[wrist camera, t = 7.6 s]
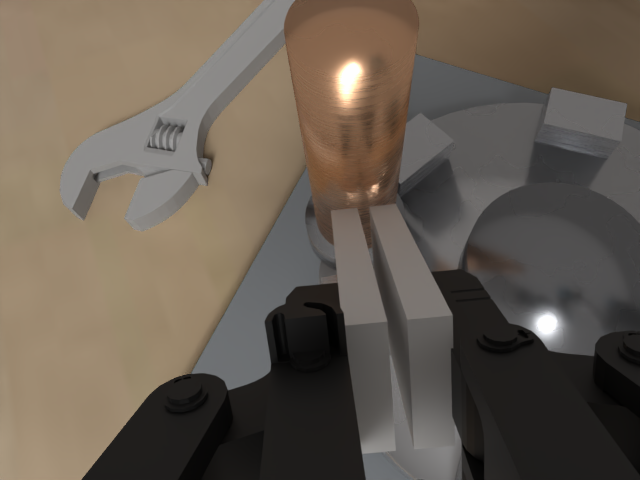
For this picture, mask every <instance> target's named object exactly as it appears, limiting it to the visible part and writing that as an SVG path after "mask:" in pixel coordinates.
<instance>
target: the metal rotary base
mask: <svg viewBox="0 0 640 480" xmlns="http://www.w3.org/2000/svg"><path fill="white" fill-rule="evenodd" d="M418 29H419V18H418V14H417V10H416V8H415V6H414V4H413V3H412V1H411V0H295V1H294V2H293V4H292V5H291V7H290V8H289V10H288V12H287V15H286V17H285V22H284V36H285V42H286V48H287V53H288V59H289V65H290V71H291V77H292V82H293V88H294V94H295V100H296V106H297V111H298V117H299V123H300V129H301V135H302V141H303V146H304V152H305V158H306V164H307V170H308V175H309V181H310V187H311V193H312V196H311V197H310V199H309V201H308V204H307V207H306V212H305V223H306V228H307V233H308V238H309V242H310V245H311V247H312V249H313V251H314V253H315V254H316V256H317V257H318V258H319V259H320V260H321V262H320V268H319V284H329V283H338V278H337V268H336V258H335V248H334V238H333V228H332V218H331V210H341V209H351V208H357V209H358V212H359V216H360V220H361V224H362V228H363V231H364V235H365V239H366V243H367V247H368V250H369V254H370V258H371V262H372V265H373V253H372V239H371V226H370V212H369V207H371V206H380V205H390V204H396V205H397V207H398V209H399V211H400V213H401V215H402V217H403V219H404V221H405V223H406V225H407V227H408V229H409V231H410V233H411V235H412V237H413V239H414V241H415V243H416V244H417V246H418V248H419V250H420V252H421V254H422V256H423V258H424V260H425V262H426V264H427V266H428V268H429V270H430V272H435V271H446V270H456V269H463V270H464V271H466V272H468V273H470V274H472V275H474V276H475V277H477V278H478V280H479V281H480V282H481V284H482V285H483V287H484V289H485V290H486V291H487V292H488V294H489V295H490V297H491V299H492V300H493V301H494V302H495V304H496V305H497V307H498V308H499V310H500V311H501V312H502V314H503V315H504V317H505V318H506V319H507V321H508V322H509V323H510V324H515V325H519V326H522V327H524V328H526V329H529V330H531V331H532V332H533V333H534V334H536V335H537V336H538V337H539V338H540V339H541V341H542V342H543V343H544V345H545V346H546V347H547V349H548V350H549V351H553V352H560V353H567V354H578V355H589V356H594V352H595V344H596V342H597V341H598V340H599V338H600V337H602V336H604V335H607V334H609V333H611V332H620V331H635V332H637V331H640V131H639V130H637V129H635V128H633V127H631V126H629V125H626V124H624V121H625V114H626V108H627V103H622V102H617V101H613V100H608V99H604V98H599V97H594V96H590V95H585V94H581V93H576V92H571V91H567V90H562V89H558V88H553V87H552V88H551V90H550V92H549V94H548V96H547V98H546V100H545V102H544V104H538V103H500V104H492V105H485V106H478V107H473V108H469V109H465V110H461V111H457V112H453V113H449V114H447V115H444V116H441V117H439V118H436V119H433V120H431V121H430V120H429V119H428V118H426V117H425V116H424V115H423V114H422V113H419V114H418V115H417V116H415V117H414V118H413V119H411V120H410V121H409V122H407V114H408V106H409V99H410V91H411V83H412V76H413V68H414V60H415V53H416V45H417V37H418ZM406 122H407V123H406ZM373 269H374V266H373ZM389 355H390V370H391V385H392V400H393V415H394V430H395V446H396V451H389V452H381V453H382V455H383V456H384V457H385V458H386V459H387V460H388V461H389V462H390V463H391V464H392V465H393V466H394V467H395V468H396V469H397V470H398V471H400V472H401V473H402V474H403V475H404V476H406V477H407V478H408V479H409V480H462V451H461V439H460V436H459V433H458V431H457V428H456V425H455V446H446V447H435V448H423V449H414V447H413V443H412V439H411V435H410V431H409V427H408V423H407V419H406V415H405V411H404V407H403V403H402V399H401V395H400V390H399V386H398V382H397V378H396V374H395V370H394V366H393V362H392V358H391V354H390V350H389Z"/></svg>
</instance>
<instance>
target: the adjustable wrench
mask: <svg viewBox="0 0 640 480" xmlns="http://www.w3.org/2000/svg"><path fill="white" fill-rule="evenodd" d="M294 1H295V0H264V1H263V2H262V3H261V4H260V5H259V6H258V7H257V8H256V9H255V10H254V12H253V13H252V14H251V15H250V16H249V17H248V18H247V19H246V20H245V21H244V22H243V23H242V24H241V25H240V26H239V27H238V28H237V30H236V31H235V32H234V33H233V34H232V35H231V36H230V37H229V38H228V39H227V40H226V41H225V42H224V43H223V44H222V45H221V46H220V48H219V49H218V50H217V51H216V52H215V53H214V54H213V55H212V56H211V57H210V58H209V59H208V60H207V61H206V62H205V63H204V64H203V66H202V67H201V68H200V69H199V70H198V71H197V72H196V73H195V74H194V75H193V76H192V77H191V78H190V79H189V80H188V81H187V82H186V84H185V85H183V86H182V87H181V88H180V89H179V90H178V91H177V92H176V93H174V94H173V95H171V96H170V97H168V98H167V99H165V100H164V101H162V102H160V103H158V104H157V105H155V106H153V107H151V108H149V109H147V110H146V111H144V112H142V113H140V114H138V115H136V116H134V117H132V118H130V119H128V120H125V121H123V122H121V123H119V124H116V125H114V126H112V127H109V128H107V129H105V130H102V131H100V132H98V133H96V134H94V135H92V136H91V137H89V138H88V139H87V140H85V141H84V142H83V143H82V144H80V145H79V146H78V147H77V148H76V149H75V150H74V152H73V153H72V154H71V156H70V157H69V159H68V161H67V162H66V164H65V166H64V169H63V172H62V175H61V182H60V194H61V197H62V201H63V204H64V205H65V206H66V207H67V208H68V209H69V210H70V211H71V212H72V213H73V214H74V215H76V216H77V217H78V218H79V219H82V220H84V219H85V217H86V215H87V212H88V210H89V208H90V205H91V203H92V201H93V199H94V196H95V194H96V192H97V189H98V187H99V185H100V182H102V181H105V180H109V179H112V178H115V177H118V176H121V175H124V174H127V173H131V174H136V175H141V176H144V177H145V178H141V179H140V181H139V183H138V186H137V188H136V191H135V193H134V196H133V198H132V200H131V203H130V205H129V208H128V210H127V213H126V215H125V218H124V219H125V220H126V221H127V222H128V223H129V224H130V225H131V227H132V228H133V229H134V230H139V231H145V230H147V229H149V228H152V227H154V226H156V225H158V224H159V223H161V222H163V221H165V220H166V219H168V218H169V217H170V216H172V215H173V214H174V213H175V212H177V211H178V210H179V209H180V208H181V207H182V206H183V205H184V204H185V203H186V202H187V200H188V199H189V198H190V197H191V196H192V194H193V193H194V192H195V190H196V189H197V187H198V185H205V186H208V179H207V177H206V175H208V174H209V173H210V171H211V166H212V164H211V160H209V159H205V158H203V151H204V142H205V139H206V136H207V133H208V131H209V129H210V127H211V125H212V124H213V122H214V121H215V120H216V118H217V117H218V116H219V114H220V113H221V112H222V111H223V110H224V109H225V108H226V107H227V106H228V104H229V103H230V102H231V101H232V100H233V99H234V98H235V97H236V96H237V95H238V94H239V93H240V92H241V91H242V89H243V88H244V87H245V86H246V85H247V84H248V83H249V82H250V81H251V80H252V79H253V78H254V77H255V75H256V74H257V73H258V72H259V71H260V70H261V69H262V68H263V67H264V66H265V65H266V64H267V63H268V62H269V60H270V59H271V58H272V57H273V56H274V55H275V54H276V53H277V52H278V51H279V50H280V49H281V48H282V47H283V45H284V44H285V43H286V42H285V36H284V22H285V17H286V15H287V12H288V10H289V8H290V7H291V5H292V4H293V2H294ZM205 174H206V175H205Z"/></svg>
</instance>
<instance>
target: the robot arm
mask: <svg viewBox="0 0 640 480" xmlns="http://www.w3.org/2000/svg"><path fill="white" fill-rule="evenodd" d="M369 212H370V226H371V239H372V253H373V265H372V262H371V258H370V254H369V250H368V247H367V243H366V239H365V235H364V231H363V228H362V224H361V220H360V216H359V212H358V209H357V208H351V209H341V210H331V218H332V228H333V238H334V248H335V258H336V268H337V278H338V283H329V284H319V285H309V286H298V287H295V288H294V289H293V290H292V292H291V293H290V294H289V295H288V296H287V297H286V302H285V304H284V305H281V306H279V307H277V308H275V309H274V310H273V311H271V312H270V313H269V314H268V315H267V317H266V319H265V321H264V322H265V329H266V335H267V341H268V347H269V354H270V360H271V370H270V372H269V373H268V374H267V375H265V376H264V377H262V378H260V379H258V380H257V381H254V382H252V383H249V384H247V385H244V386H240V387H237V388H234V389H231V390H228V389H227V386H226V384H225V381H224V380H222V379H221V378H219V377H218V376H216V375H211V374H206V373H197V374H187V375H183V376H179V377H176V378H174V379H172V380H170V381H168V382H166V383H164V384H162V385H160V386H159V387H158V388H157V389H155V390H154V391H153V392H152V393H151V394H150V395H149V396H148V397H147V398H146V400H145V401H144V402H143V403H142V405H141V406H140V407H139V408H138V410H137V411H136V412H135V413H134V415H133V416H132V417H131V418H130V420H129V421H128V422H127V423H126V425H125V426H124V427H123V428H122V430H121V431H120V432H119V433H118V435H117V436H116V437H115V438H114V440H113V441H112V442H111V443H110V445H109V446H108V447H107V448H106V450H105V451H104V452H103V453H102V455H101V456H100V457H99V458H98V460H97V461H96V462H95V463H94V465H93V466H92V467H91V468H90V470H89V471H88V472H87V473H86V475H85V476H84V477H83V478H82V480H366V477H365V470H364V463H363V456H362V454H367V453H378V452H389V451H396V446H395V430H394V415H393V400H392V385H391V370H390V355H389V350H390V354H391V358H392V362H393V366H394V370H395V374H396V378H397V382H398V386H399V390H400V395H401V399H402V403H403V407H404V411H405V415H406V419H407V423H408V427H409V431H410V435H411V439H412V443H413V447H414V449H423V448H435V447H446V446H455V425H456V428H457V431H458V433H459V436H460V439H461V451H462V480H640V331H637V332H635V331H620V332H611V333H609V334H607V335H604V336H602V337H600V338H599V340H598V341H597V342H596V344H595V352H594V356H589V355H578V354H567V353H560V352H553V351H549V350H548V349H547V347H546V346H545V345H544V343H543V342H542V341H541V339H540V338H539V337H538V336H537V335H536V334H534V333H533V332H532V331H531V330H529V329H526V328H524V327H522V326H519V325H515V324H510V323H509V322H508V321H507V319H506V318H505V317H504V315H503V314H502V312H501V311H500V310H499V308H498V307H497V305H496V304H495V302H494V301H493V300H492V299H491V297H490V295H489V294H488V292H487V291H486V290H485V289H484V287H483V285H482V284H481V282H480V281H479V280H478V278H477V277H475V276H474V275H472V274H470V273H468V272H466V271H464V270H463V269H456V270H446V271H435V272H430V270H429V268H428V266H427V264H426V262H425V260H424V258H423V256H422V254H421V252H420V250H419V248H418V246H417V244H416V243H415V241H414V239H413V237H412V235H411V233H410V231H409V229H408V227H407V225H406V223H405V221H404V219H403V217H402V215H401V213H400V211H399V209H398V207H397V205H396V204H390V205H380V206H371V207H369ZM373 266H374V269H373Z"/></svg>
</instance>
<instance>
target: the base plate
mask: <svg viewBox="0 0 640 480" xmlns="http://www.w3.org/2000/svg"><path fill="white" fill-rule="evenodd" d="M547 96H548V94H545V93H542V92H539V91H535V90H532V89H529V88H525V87H522V86H519V85H516V84H512V83H509V82H506V81H502V80H499V79H496V78H492V77H489V76H486V75H482V74H479V73H476V72H473V71H469V70H466V69H463V68H459V67H456V66H453V65H449V64H446V63H443V62H440V61H436V60H433V59H430V58H426V57H423V56H420V55H416V54H415V60H414V68H413V76H412V83H411V91H410V99H409V106H408V114H407V122H409V121H410V120H411V119H413V118H414V117H415V116H417V115H418V114H419V113H422V114H423V115H424V116H425V117H426V118H428V119H429V120H430V121H431V120H433V119H436V118H439V117H441V116H444V115H447V114H449V113H453V112H457V111H461V110H465V109H469V108H473V107H478V106H485V105H492V104H500V103H538V104H544V102H545V100H546V98H547ZM407 122H406V123H407ZM624 124H626V125H629V126H631V127H633V128H635V129H637V130H639V131H640V122H638V121H635V120H631V119H628V118H625V121H624ZM311 196H312V193H311V187H310V181H309V175H308V170H307V167H306V169H305V171H304V172H303V174H302V176H301V178H300V180H299V181H298V183H297V185H296V187H295V189H294V190H293V192H292V194H291V196H290V197H289V199H288V201H287V203H286V205H285V206H284V208H283V210H282V212H281V214H280V215H279V217H278V219H277V221H276V223H275V224H274V226H273V228H272V230H271V231H270V233H269V235H268V237H267V239H266V240H265V242H264V244H263V246H262V248H261V249H260V251H259V253H258V255H257V256H256V258H255V260H254V262H253V264H252V265H251V267H250V269H249V271H248V273H247V274H246V276H245V278H244V280H243V281H242V283H241V285H240V287H239V289H238V290H237V292H236V294H235V296H234V298H233V299H232V301H231V303H230V305H229V306H228V308H227V310H226V312H225V314H224V315H223V317H222V319H221V321H220V323H219V324H218V326H217V328H216V330H215V332H214V333H213V335H212V337H211V339H210V340H209V342H208V344H207V346H206V348H205V349H204V351H203V353H202V355H201V357H200V358H199V360H198V362H197V364H196V365H195V367H194V369H193V371H192V373H191V374H197V373H206V374H211V375H216V376H218V377H219V378H221V379H222V380H224V381H225V384H226V386H227V389H228V390H231V389H234V388H237V387H240V386H244V385H247V384H249V383H252V382H254V381H257V380H258V379H260V378H262V377H264V376H265V375H267V374H268V373H269V372H270V370H271V360H270V354H269V347H268V341H267V335H266V329H265V322H264V321H265V319H266V317H267V315H268V314H269V313H270V312H271V311H273V310H274V309H275V308H277V307H279V306H281V305H284V304H285V302H286V297H287V296H288V295H289V294H290V293H291V292H292V290H293V289H294V288H295V287H298V286H309V285H319V268H320V262H321V260H320V259H319V258H318V257H317V256H316V254H315V253H314V251H313V249H312V247H311V245H310V242H309V238H308V233H307V228H306V223H305V212H306V207H307V204H308V201H309V199H310V197H311ZM362 456H363V463H364V470H365V477H366V480H409V479H408V478H407V477H406V476H404V475H403V474H402V473H401V472H400V471H398V470H397V469H396V468H395V467H394V466H393V465H392V464H391V463H390V462H389V461H388V460H387V459H386V458H385V457H384V456H383V455H382V453H381V452H378V453H367V454H362Z"/></svg>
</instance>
